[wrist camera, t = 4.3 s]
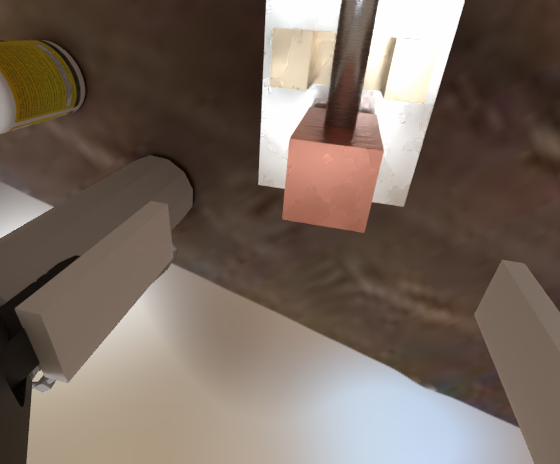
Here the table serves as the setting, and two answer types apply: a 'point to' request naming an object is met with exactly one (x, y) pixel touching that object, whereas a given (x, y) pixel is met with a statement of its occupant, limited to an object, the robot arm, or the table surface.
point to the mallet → (338, 137)
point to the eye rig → (377, 84)
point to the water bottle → (89, 224)
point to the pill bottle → (37, 83)
